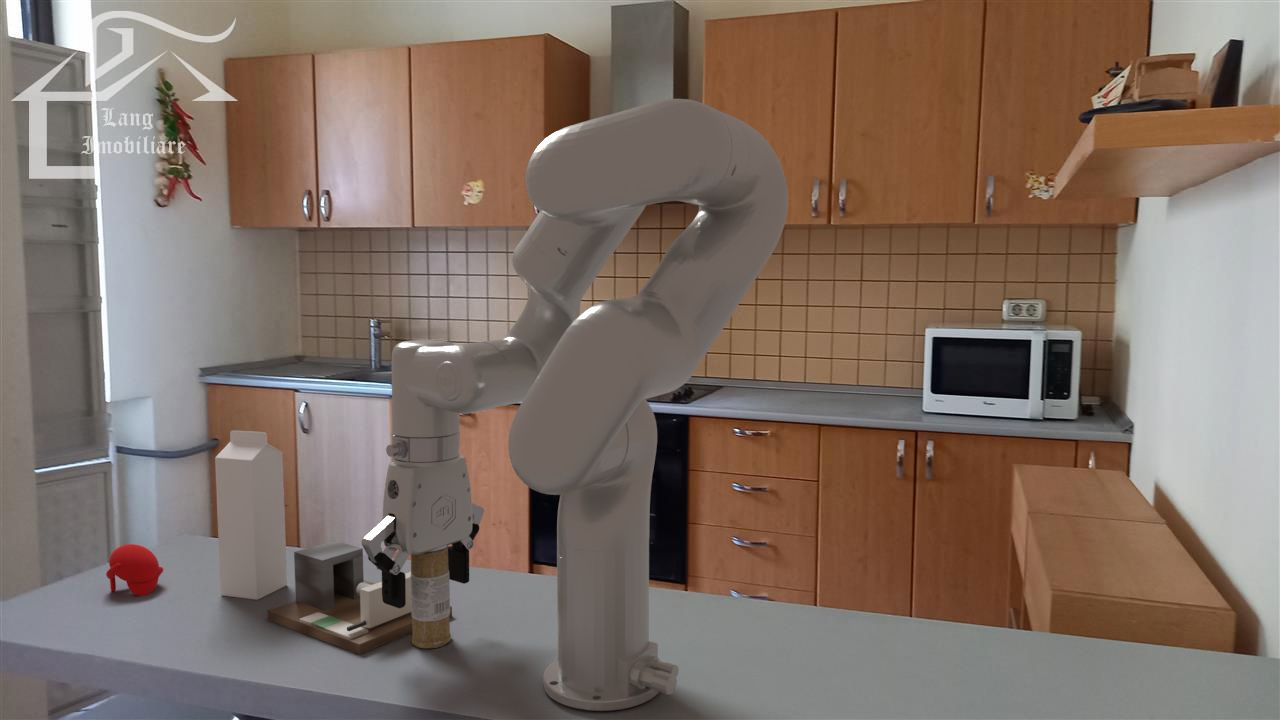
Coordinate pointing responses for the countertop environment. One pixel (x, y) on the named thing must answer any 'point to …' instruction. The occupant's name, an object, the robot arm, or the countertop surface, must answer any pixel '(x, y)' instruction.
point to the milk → (250, 516)
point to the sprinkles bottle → (430, 598)
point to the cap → (134, 568)
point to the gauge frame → (334, 600)
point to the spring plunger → (379, 605)
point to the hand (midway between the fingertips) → (427, 592)
